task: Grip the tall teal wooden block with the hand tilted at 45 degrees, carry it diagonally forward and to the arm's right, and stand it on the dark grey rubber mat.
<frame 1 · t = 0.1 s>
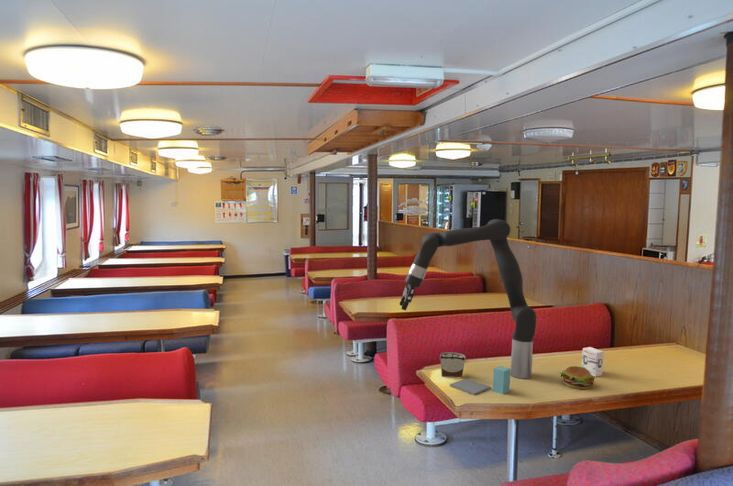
hand: (402, 307, 232), 31 cm above the table, tool tilted 20°, fingers open, 8 cm apart
food: (576, 385, 228), on the table
grey mat: (470, 387, 222), on the table
teal block: (500, 391, 218), on the table
food container: (451, 375, 237), on the table
ink box: (591, 373, 243), on the table
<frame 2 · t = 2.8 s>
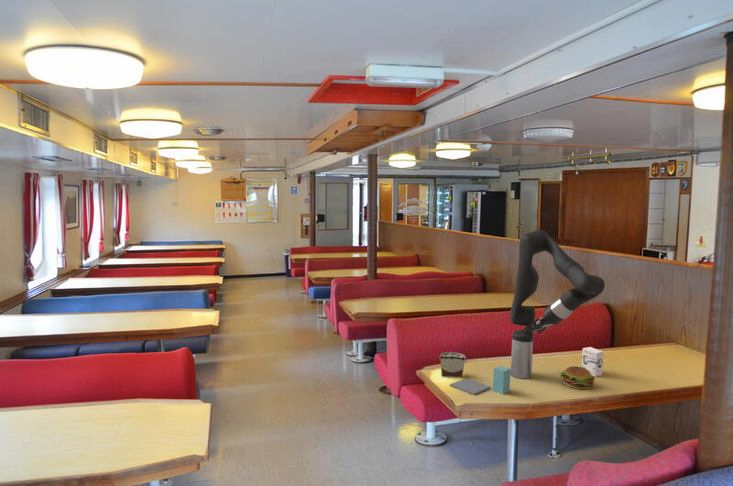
hand: (531, 333, 205), 28 cm above the table, tool tilted 45°, fingers open, 8 cm apart
nothing on the table moved.
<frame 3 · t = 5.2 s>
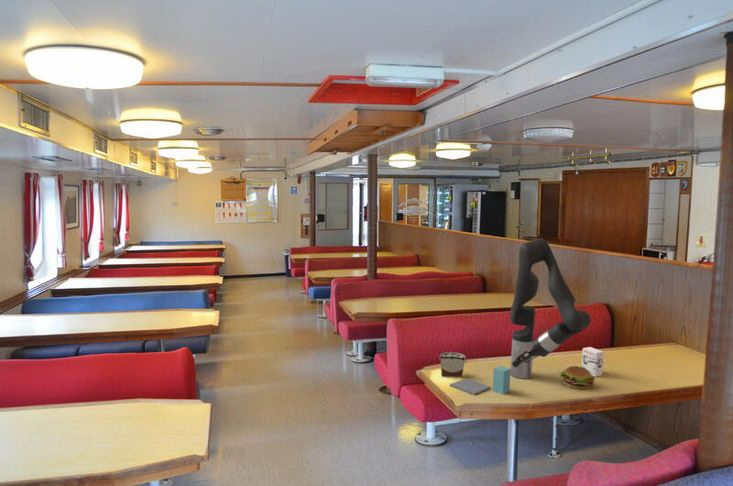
hand: (519, 363, 211), 14 cm above the table, tool tilted 45°, fingers open, 8 cm apart
nothing on the table moved.
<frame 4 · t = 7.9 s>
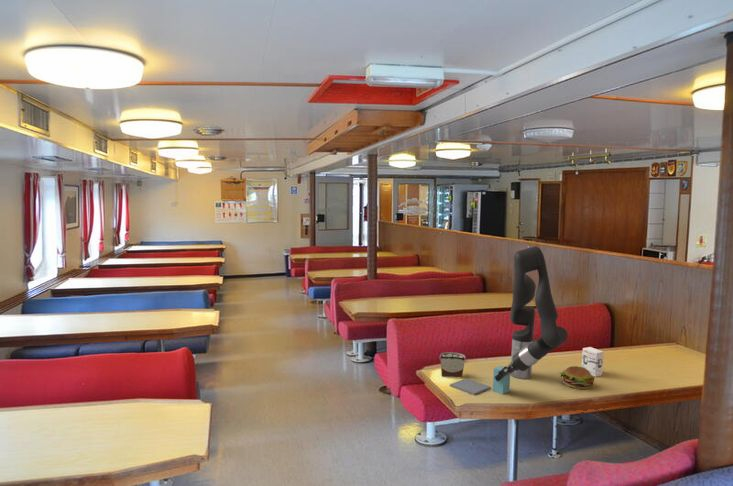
hand: (499, 377, 218), 6 cm above the table, tool tilted 45°, fingers closed on teal block, 5 cm apart
teal block: (500, 391, 218), on the table, touching gripper
everything else where it was.
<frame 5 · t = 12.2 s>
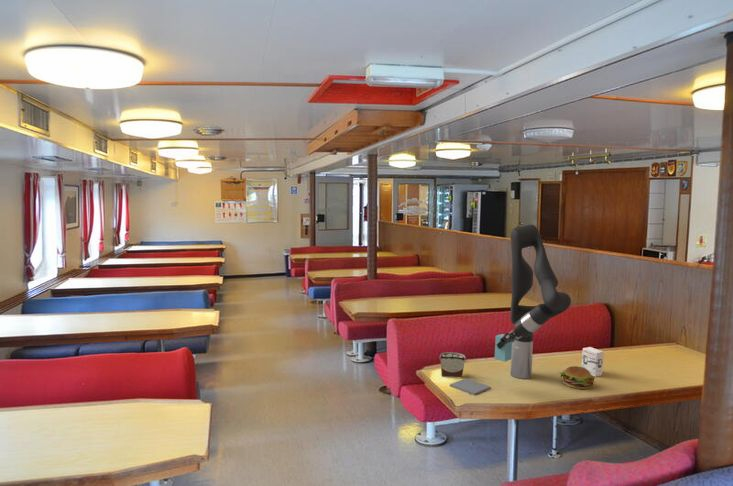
hand: (501, 345, 217), 20 cm above the table, tool tilted 45°, fingers closed on teal block, 5 cm apart
teal block: (502, 359, 217), point 14 cm above the table, touching gripper
everything else where it was.
when the fingers open (7 cm above the table, at t = 16.4 s): teal block stays where it is, resting on grey mat.
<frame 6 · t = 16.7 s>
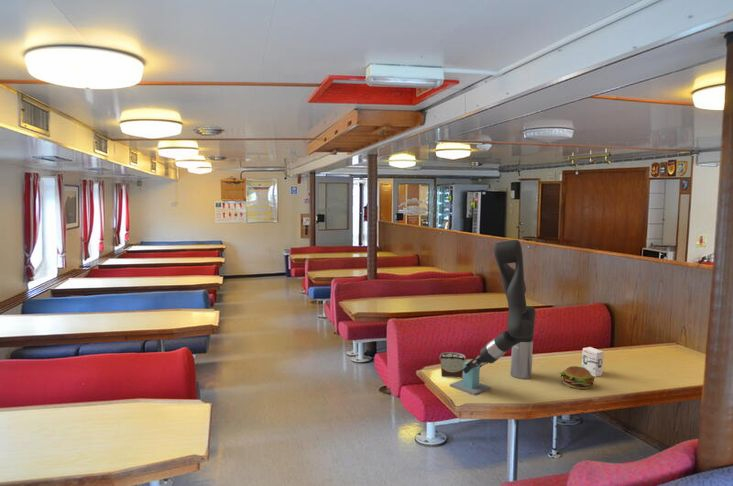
hand: (470, 369, 221), 8 cm above the table, tool tilted 45°, fingers open, 7 cm apart
teal block: (470, 385, 221), point 1 cm above the table, touching grey mat
everything else where it was.
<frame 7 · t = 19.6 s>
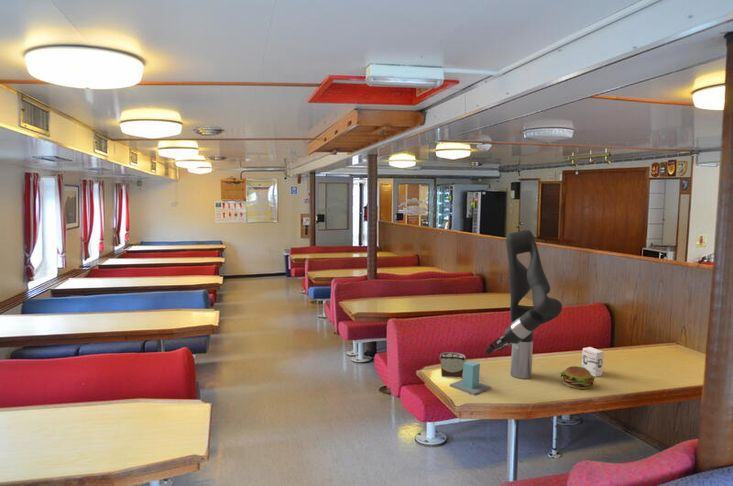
hand: (493, 350, 212), 19 cm above the table, tool tilted 45°, fingers open, 8 cm apart
nothing on the table moved.
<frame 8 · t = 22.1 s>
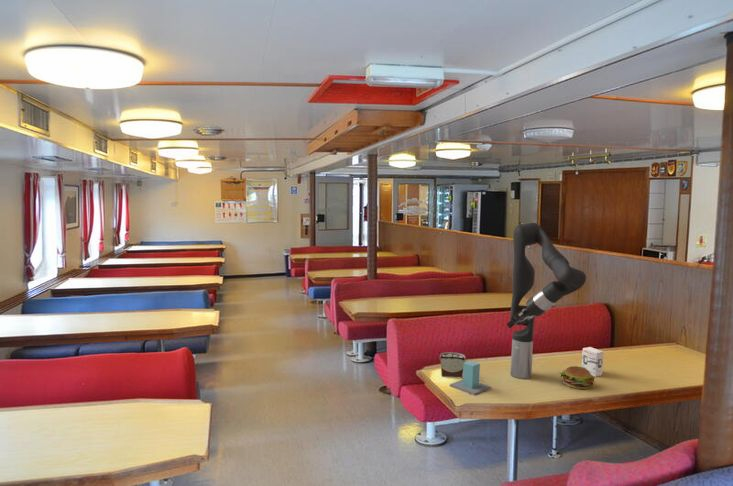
hand: (513, 324, 210), 31 cm above the table, tool tilted 45°, fingers open, 8 cm apart
nothing on the table moved.
at the end: teal block inside the target area on the grey mat (0.2 cm from its centre), point 0.8 cm above the grey mat's base; teal block tilted 0°; the gripper is holding nothing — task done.
